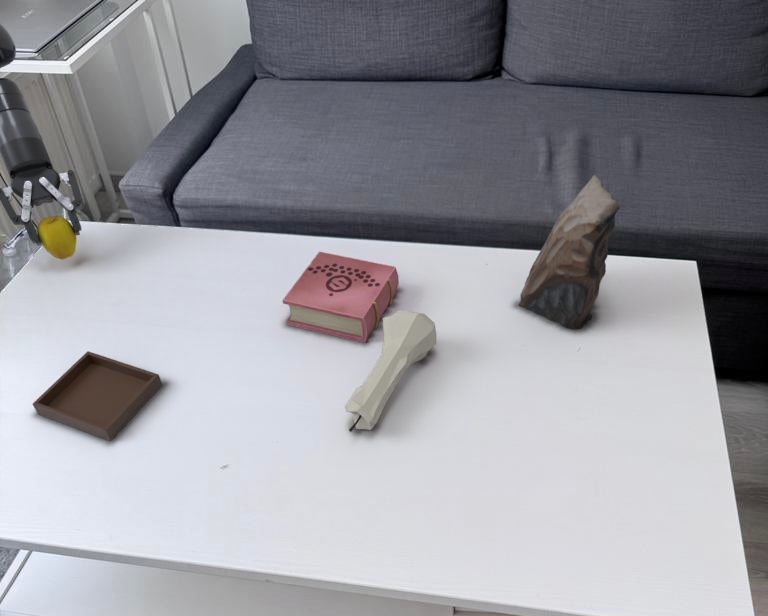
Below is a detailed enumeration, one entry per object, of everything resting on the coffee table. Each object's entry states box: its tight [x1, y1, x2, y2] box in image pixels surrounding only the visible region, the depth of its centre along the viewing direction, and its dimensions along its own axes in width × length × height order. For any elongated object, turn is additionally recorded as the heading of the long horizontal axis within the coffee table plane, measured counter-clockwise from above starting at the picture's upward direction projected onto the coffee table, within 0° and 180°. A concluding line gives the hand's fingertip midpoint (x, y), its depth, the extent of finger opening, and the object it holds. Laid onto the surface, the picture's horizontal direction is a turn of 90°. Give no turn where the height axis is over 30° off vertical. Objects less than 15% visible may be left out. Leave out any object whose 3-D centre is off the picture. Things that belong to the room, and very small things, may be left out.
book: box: [282, 251, 399, 344], centre depth 126 cm, size 14×15×5 cm
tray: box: [32, 350, 163, 442], centre depth 116 cm, size 14×13×2 cm
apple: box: [36, 215, 77, 260], centre depth 135 cm, size 6×6×8 cm
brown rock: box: [518, 174, 621, 330], centre depth 118 cm, size 13×13×20 cm
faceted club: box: [344, 309, 438, 432], centre depth 113 cm, size 9×8×25 cm
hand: (58, 238), depth 134 cm, fingers closed on apple, 6 cm apart
